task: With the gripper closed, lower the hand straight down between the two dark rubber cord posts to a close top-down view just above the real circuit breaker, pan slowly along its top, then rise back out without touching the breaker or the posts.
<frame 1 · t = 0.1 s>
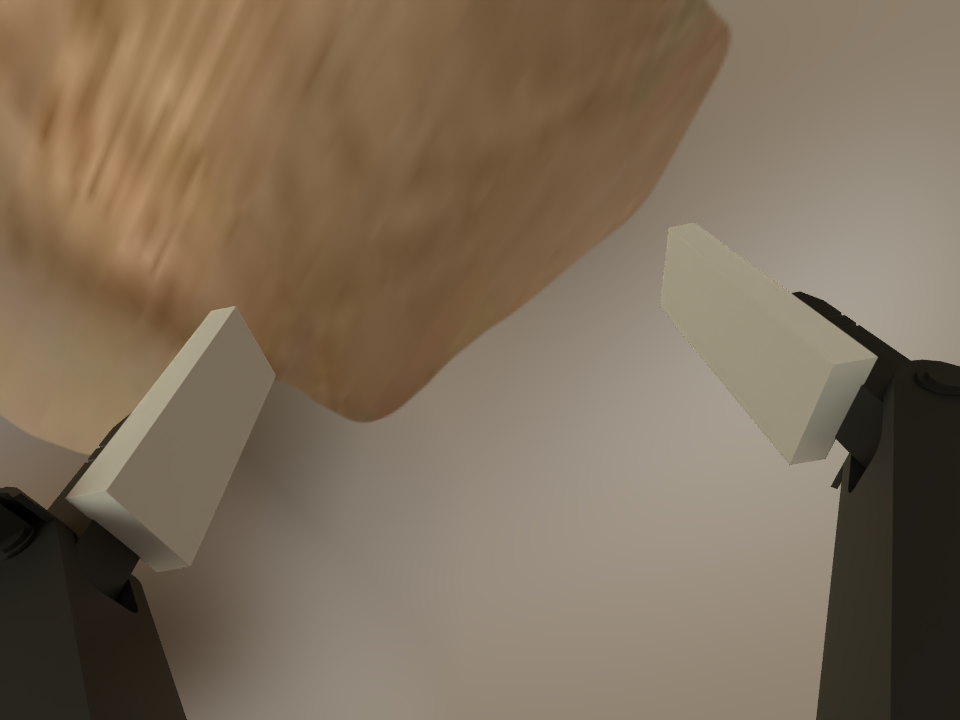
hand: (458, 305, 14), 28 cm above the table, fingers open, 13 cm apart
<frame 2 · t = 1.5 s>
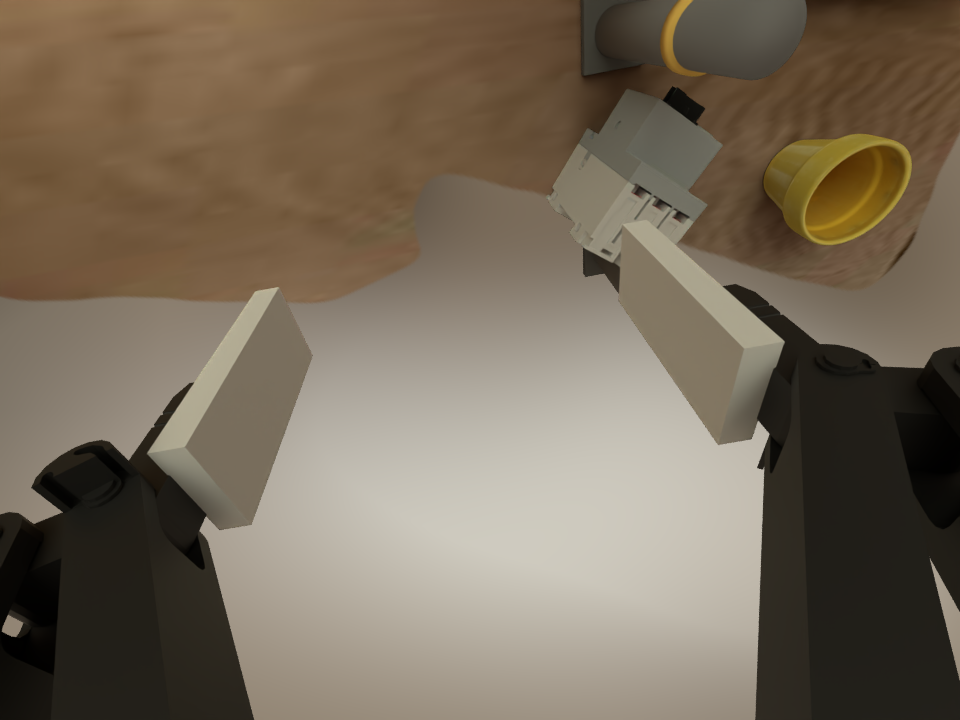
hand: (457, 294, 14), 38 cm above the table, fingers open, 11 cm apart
circuit breaker: (608, 154, 48), on the table
plant pot: (790, 171, 51), on the table
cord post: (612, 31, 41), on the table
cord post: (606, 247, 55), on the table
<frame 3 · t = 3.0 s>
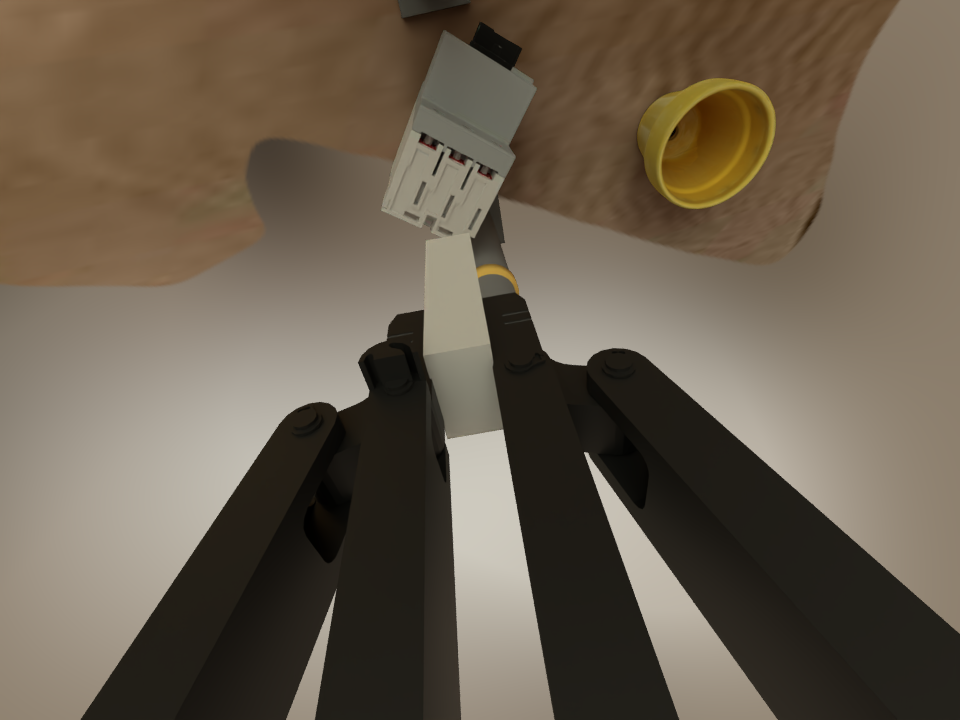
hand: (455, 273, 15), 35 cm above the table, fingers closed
circuit breaker: (454, 112, 43), on the table
plant pot: (667, 129, 46), on the table
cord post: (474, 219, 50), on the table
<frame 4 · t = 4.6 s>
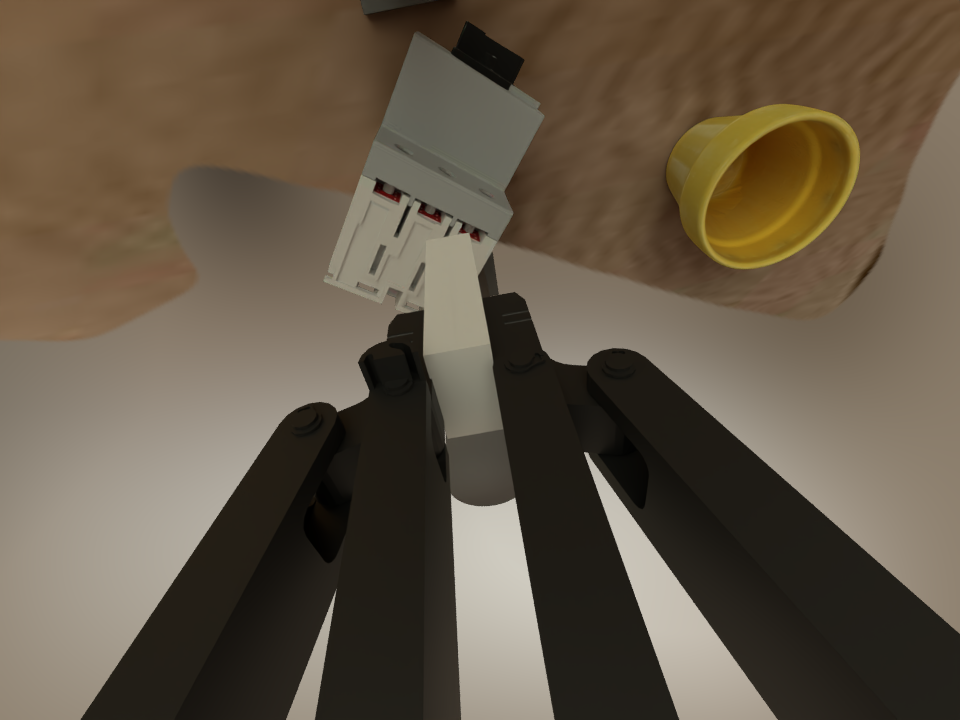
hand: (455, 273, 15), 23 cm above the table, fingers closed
circuit breaker: (435, 137, 34), on the table
plant pot: (703, 162, 37), on the table
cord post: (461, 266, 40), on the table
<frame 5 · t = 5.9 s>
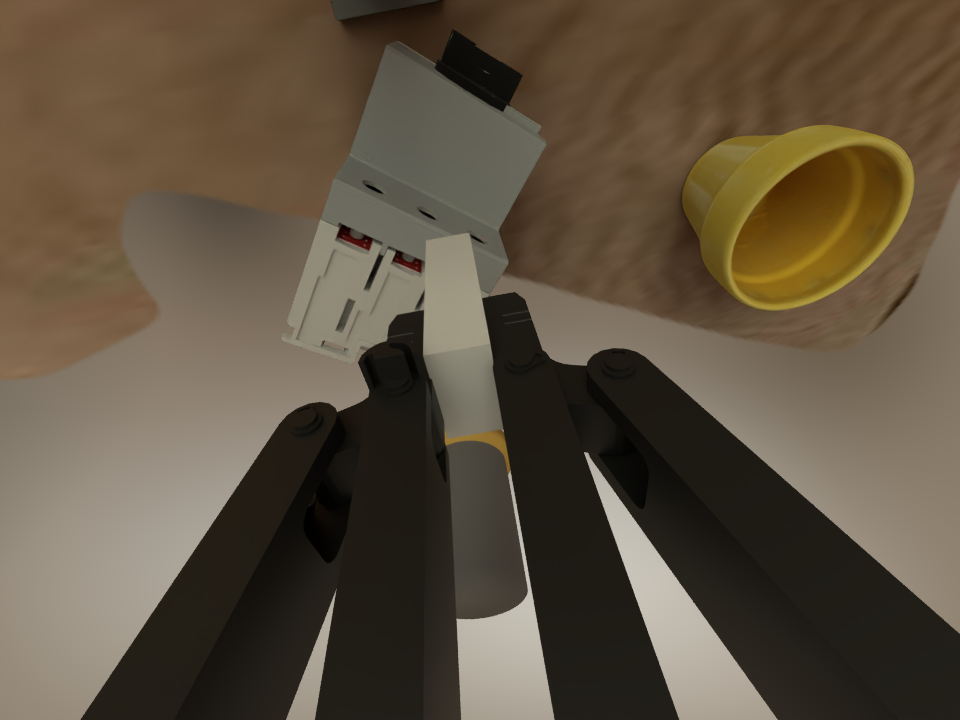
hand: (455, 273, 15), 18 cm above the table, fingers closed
circuit breaker: (423, 158, 30), on the table
plant pot: (724, 185, 33), on the table
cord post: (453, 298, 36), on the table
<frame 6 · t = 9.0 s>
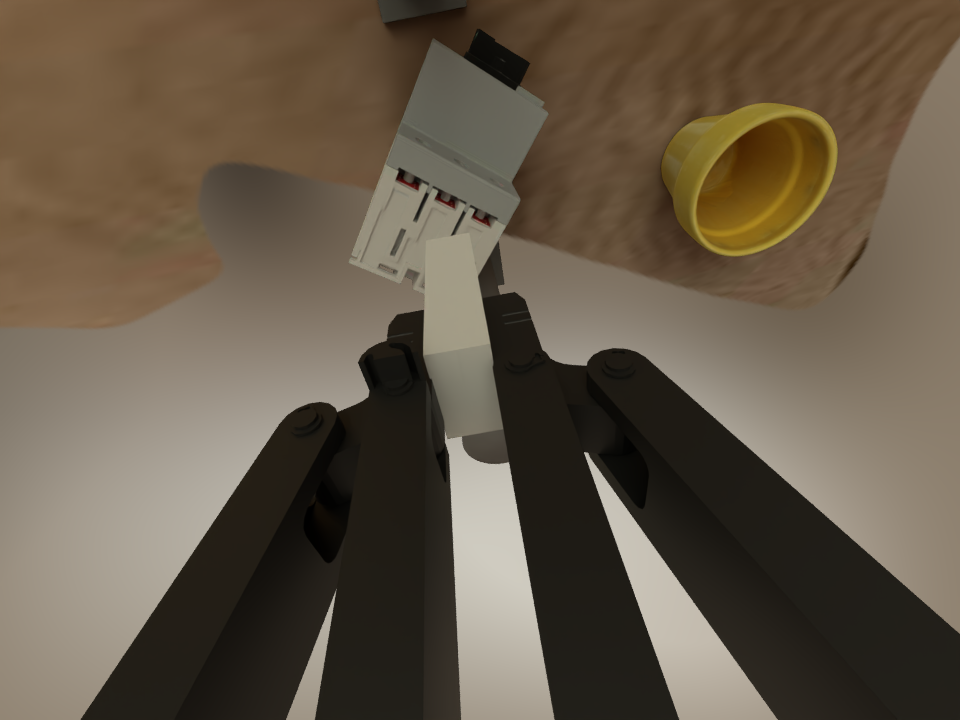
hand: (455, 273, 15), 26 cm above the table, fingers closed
circuit breaker: (446, 135, 36), on the table
plant pot: (696, 158, 39), on the table
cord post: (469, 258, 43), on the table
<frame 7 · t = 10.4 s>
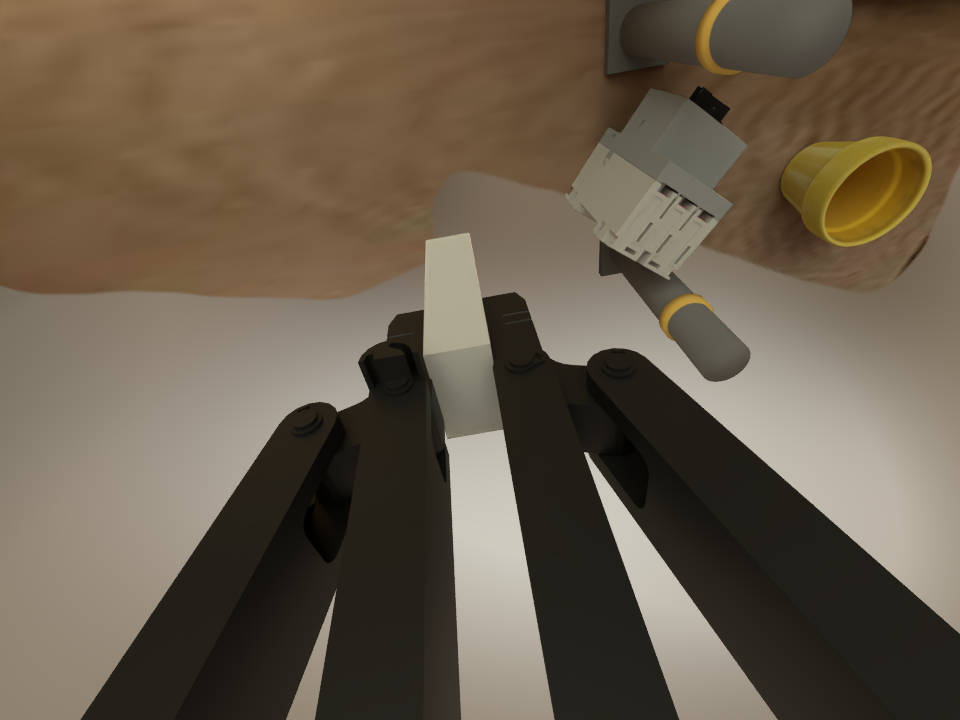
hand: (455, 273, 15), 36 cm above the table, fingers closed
circuit breaker: (628, 153, 48), on the table
plant pot: (807, 172, 52), on the table
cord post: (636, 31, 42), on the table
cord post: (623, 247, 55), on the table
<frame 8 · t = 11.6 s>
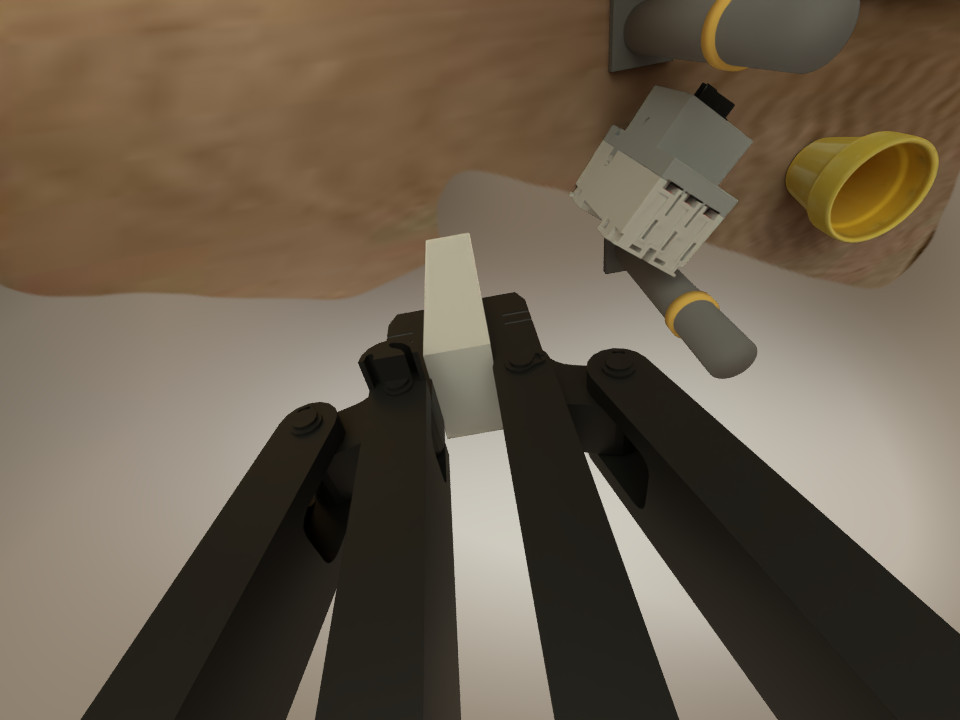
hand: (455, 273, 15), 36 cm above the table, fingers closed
circuit breaker: (632, 151, 48), on the table
plant pot: (812, 168, 51), on the table
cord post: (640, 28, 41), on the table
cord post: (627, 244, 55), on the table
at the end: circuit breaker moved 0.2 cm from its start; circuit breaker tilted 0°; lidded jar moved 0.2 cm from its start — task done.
